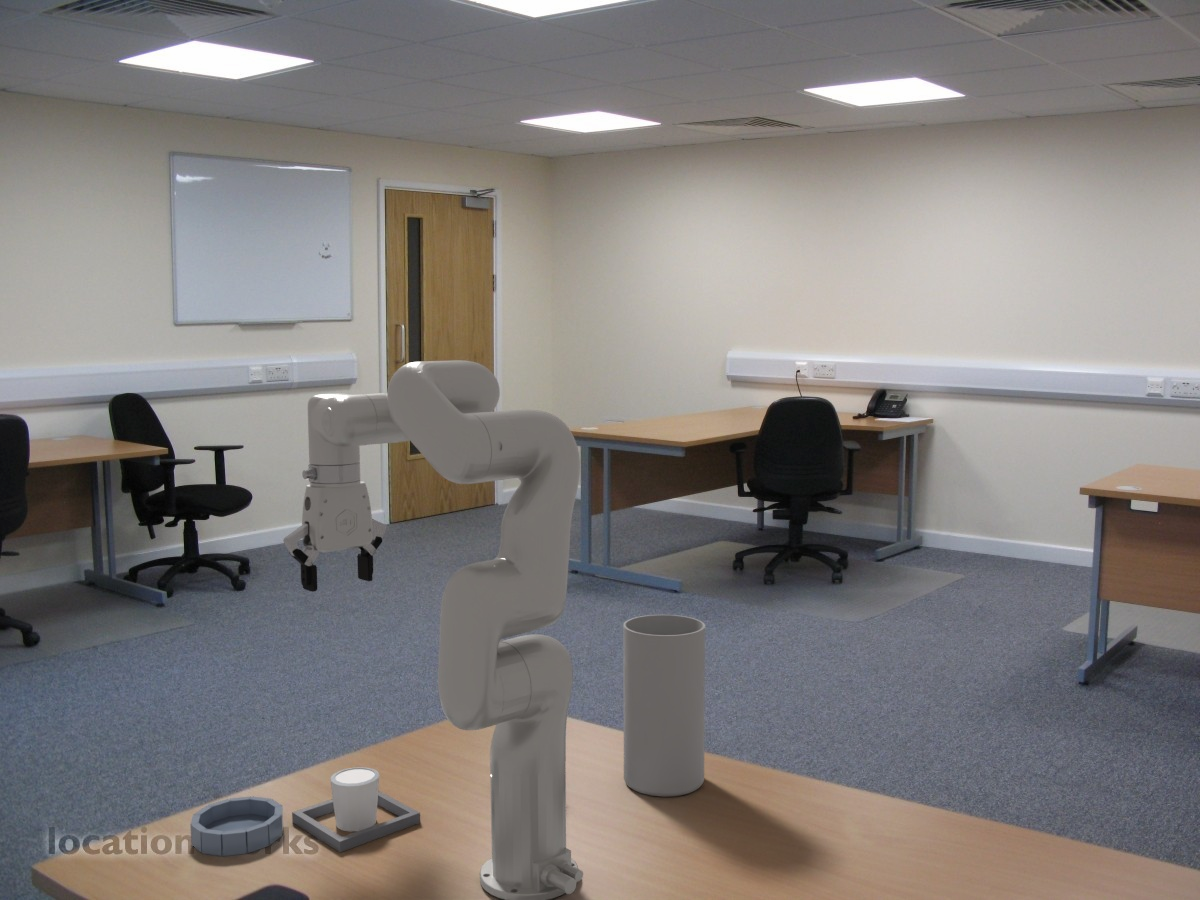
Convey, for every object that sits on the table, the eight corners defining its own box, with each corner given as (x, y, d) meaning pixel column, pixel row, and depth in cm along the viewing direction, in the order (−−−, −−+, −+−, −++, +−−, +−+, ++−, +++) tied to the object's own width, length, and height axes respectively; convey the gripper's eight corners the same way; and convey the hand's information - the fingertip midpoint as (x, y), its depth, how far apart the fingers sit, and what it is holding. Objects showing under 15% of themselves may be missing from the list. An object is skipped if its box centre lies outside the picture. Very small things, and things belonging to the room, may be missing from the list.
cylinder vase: (661, 805, 164) (661, 640, 161) (607, 779, 173) (606, 623, 171) (721, 784, 171) (722, 626, 169) (666, 760, 181) (666, 610, 179)
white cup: (386, 813, 162) (385, 767, 161) (372, 834, 155) (371, 786, 154) (340, 811, 162) (339, 765, 162) (324, 832, 155) (323, 784, 155)
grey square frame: (420, 822, 158) (420, 812, 158) (340, 852, 149) (339, 841, 149) (370, 795, 168) (370, 786, 168) (292, 822, 159) (292, 812, 159)
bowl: (298, 835, 154) (297, 815, 154) (216, 864, 146) (215, 842, 146) (258, 809, 163) (257, 789, 163) (177, 835, 155) (176, 814, 154)
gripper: (296, 482, 160) (300, 598, 162) (396, 471, 172) (399, 579, 174) (270, 477, 166) (274, 590, 167) (370, 467, 178) (372, 572, 179)
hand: (338, 584), depth 171 cm, fingers open, 9 cm apart
